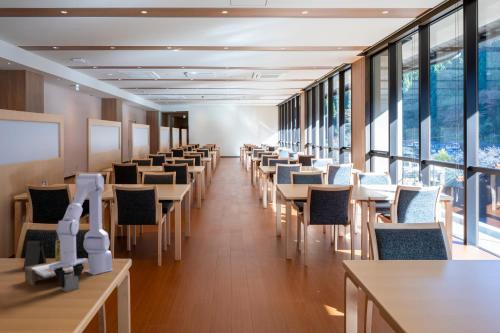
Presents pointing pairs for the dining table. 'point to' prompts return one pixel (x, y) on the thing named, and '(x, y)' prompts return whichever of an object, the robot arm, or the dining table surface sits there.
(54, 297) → the dining table surface
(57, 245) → the sauce bottle
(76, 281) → the stone
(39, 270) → the trapdoor
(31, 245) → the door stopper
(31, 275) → the trapdoor frame
